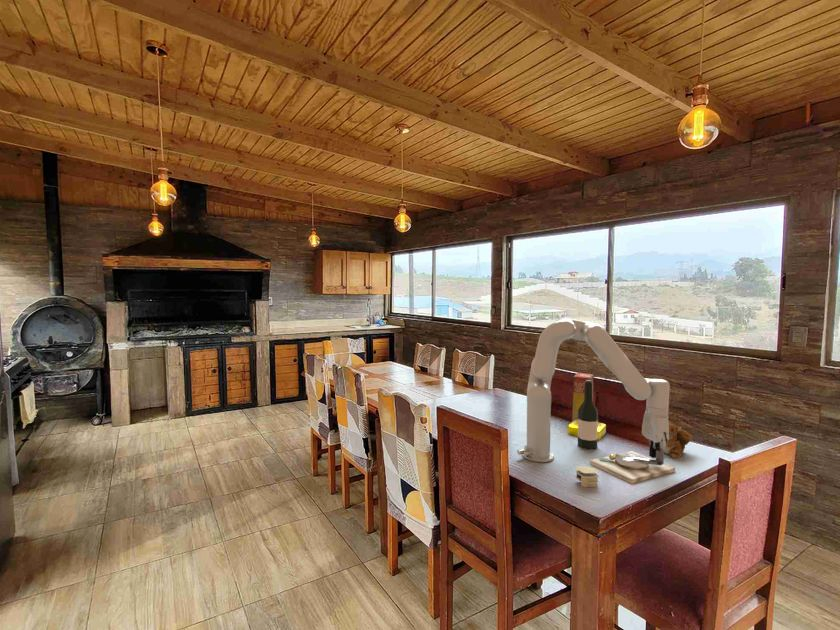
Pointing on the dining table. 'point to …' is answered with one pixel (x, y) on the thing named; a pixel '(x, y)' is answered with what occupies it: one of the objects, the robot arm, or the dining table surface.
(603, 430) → the element tile
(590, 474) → the tan layered block
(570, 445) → the dining table surface
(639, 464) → the silver rounded piece
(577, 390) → the food packaging
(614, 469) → the stand board
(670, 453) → the stuffed squirrel
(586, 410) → the wine bottle
